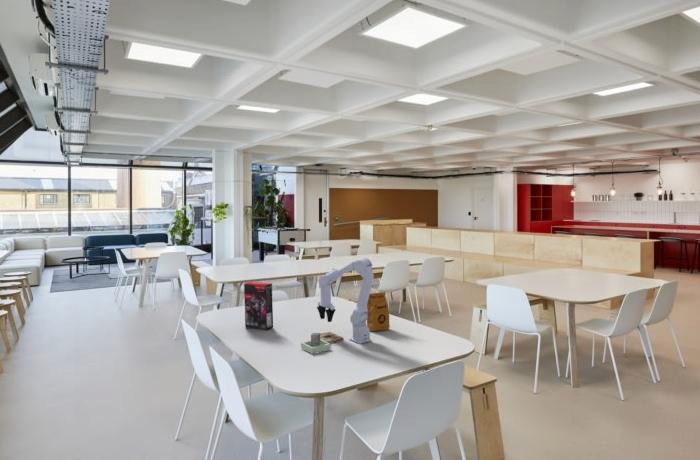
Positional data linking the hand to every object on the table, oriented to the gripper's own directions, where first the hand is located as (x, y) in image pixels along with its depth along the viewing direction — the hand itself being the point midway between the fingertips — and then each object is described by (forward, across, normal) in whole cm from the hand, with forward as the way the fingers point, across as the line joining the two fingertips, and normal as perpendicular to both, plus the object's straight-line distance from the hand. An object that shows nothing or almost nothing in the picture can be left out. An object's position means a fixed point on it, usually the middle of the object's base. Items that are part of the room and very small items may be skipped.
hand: (326, 320), depth 242 cm
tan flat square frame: (+8, -7, +4) cm, 11 cm away
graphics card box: (+9, +38, +24) cm, 46 cm away
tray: (+8, -16, +17) cm, 25 cm away
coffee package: (+9, -10, -29) cm, 32 cm away
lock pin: (+8, -16, +17) cm, 25 cm away
